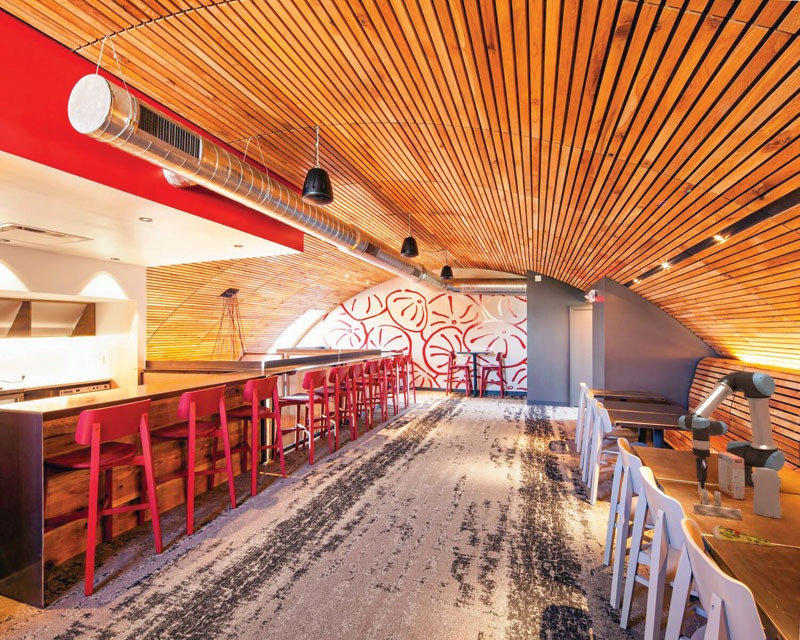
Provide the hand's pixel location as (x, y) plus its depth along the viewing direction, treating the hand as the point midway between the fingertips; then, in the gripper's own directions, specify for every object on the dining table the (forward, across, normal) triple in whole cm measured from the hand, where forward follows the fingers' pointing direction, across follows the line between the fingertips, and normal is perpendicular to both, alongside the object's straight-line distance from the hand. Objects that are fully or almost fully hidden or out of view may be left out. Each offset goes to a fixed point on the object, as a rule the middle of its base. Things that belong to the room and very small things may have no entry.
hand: (702, 494), depth 222 cm
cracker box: (+2, -12, +16) cm, 20 cm away
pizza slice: (+3, +50, +3) cm, 50 cm away
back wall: (+2, +25, 0) cm, 25 cm away
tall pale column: (+2, +15, +22) cm, 27 cm away
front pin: (+1, +14, 0) cm, 14 cm away
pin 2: (+2, +16, +2) cm, 17 cm away
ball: (-1, +9, 0) cm, 9 cm away
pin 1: (+2, +16, -2) cm, 17 cm away
